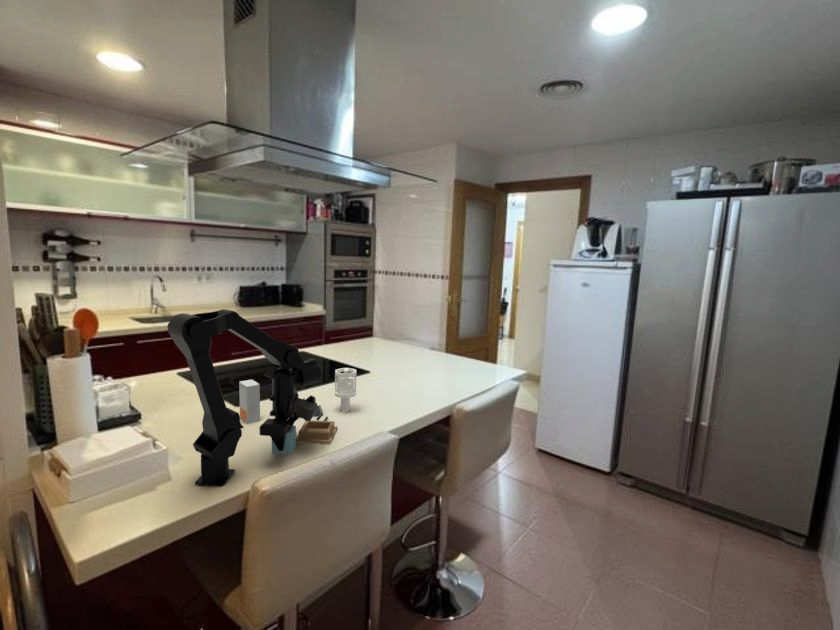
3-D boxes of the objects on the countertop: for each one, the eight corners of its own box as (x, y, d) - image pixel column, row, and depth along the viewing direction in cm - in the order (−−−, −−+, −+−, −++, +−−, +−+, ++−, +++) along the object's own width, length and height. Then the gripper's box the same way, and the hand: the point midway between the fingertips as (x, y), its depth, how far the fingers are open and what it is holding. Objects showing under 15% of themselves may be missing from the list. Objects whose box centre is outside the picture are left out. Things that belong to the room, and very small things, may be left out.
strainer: (334, 414, 136) (335, 370, 134) (334, 406, 143) (335, 364, 140) (356, 413, 137) (357, 370, 135) (355, 405, 144) (356, 364, 142)
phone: (322, 415, 134) (322, 412, 134) (277, 419, 129) (277, 416, 129) (320, 408, 141) (320, 404, 140) (277, 411, 136) (277, 408, 136)
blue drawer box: (290, 454, 108) (290, 432, 107) (271, 453, 108) (271, 431, 107) (295, 446, 112) (295, 425, 112) (277, 445, 112) (277, 424, 111)
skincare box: (239, 417, 130) (238, 381, 128) (252, 414, 132) (252, 378, 131) (247, 424, 125) (246, 386, 123) (260, 420, 128) (260, 383, 126)
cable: (323, 426, 126) (323, 424, 126) (312, 425, 126) (312, 423, 126) (331, 412, 137) (331, 410, 137) (321, 412, 137) (321, 410, 137)
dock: (330, 444, 115) (330, 434, 114) (294, 442, 115) (294, 433, 114) (337, 429, 125) (337, 420, 124) (304, 427, 125) (304, 418, 124)
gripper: (304, 404, 99) (304, 465, 101) (322, 381, 117) (322, 432, 119) (258, 402, 98) (259, 463, 101) (283, 379, 117) (284, 431, 119)
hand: (284, 446), depth 110 cm, fingers closed on blue drawer box, 4 cm apart
